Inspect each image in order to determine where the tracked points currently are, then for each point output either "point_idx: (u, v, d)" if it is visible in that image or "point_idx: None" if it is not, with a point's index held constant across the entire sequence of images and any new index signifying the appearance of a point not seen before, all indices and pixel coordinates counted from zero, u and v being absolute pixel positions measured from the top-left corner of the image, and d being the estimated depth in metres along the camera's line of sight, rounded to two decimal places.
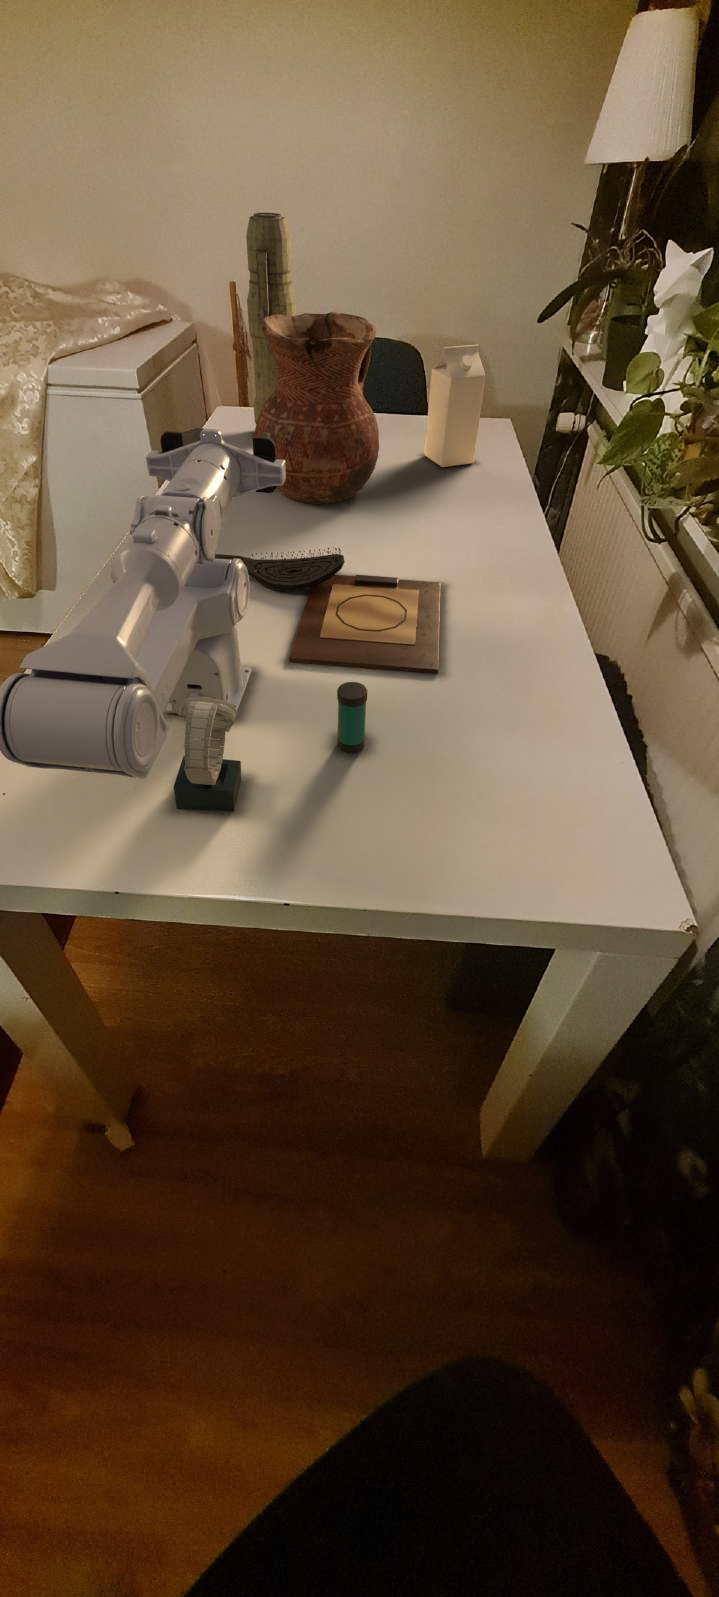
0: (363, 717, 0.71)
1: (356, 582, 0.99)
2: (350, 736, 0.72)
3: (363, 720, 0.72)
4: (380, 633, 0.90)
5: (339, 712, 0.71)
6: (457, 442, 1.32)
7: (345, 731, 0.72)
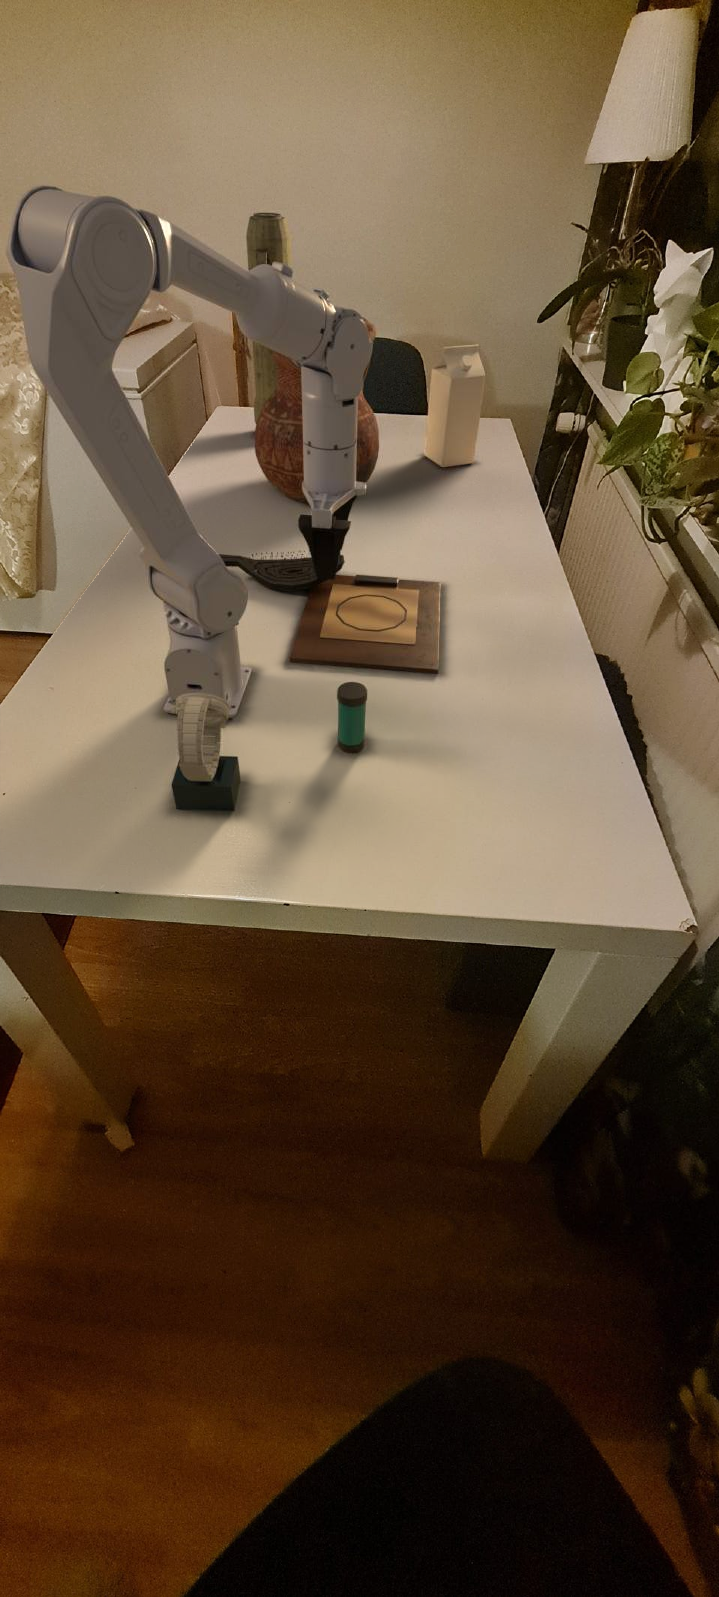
0: (363, 717, 0.71)
1: (356, 582, 0.99)
2: (350, 736, 0.72)
3: (363, 720, 0.72)
4: (380, 633, 0.90)
5: (339, 712, 0.71)
6: (457, 442, 1.32)
7: (345, 731, 0.72)
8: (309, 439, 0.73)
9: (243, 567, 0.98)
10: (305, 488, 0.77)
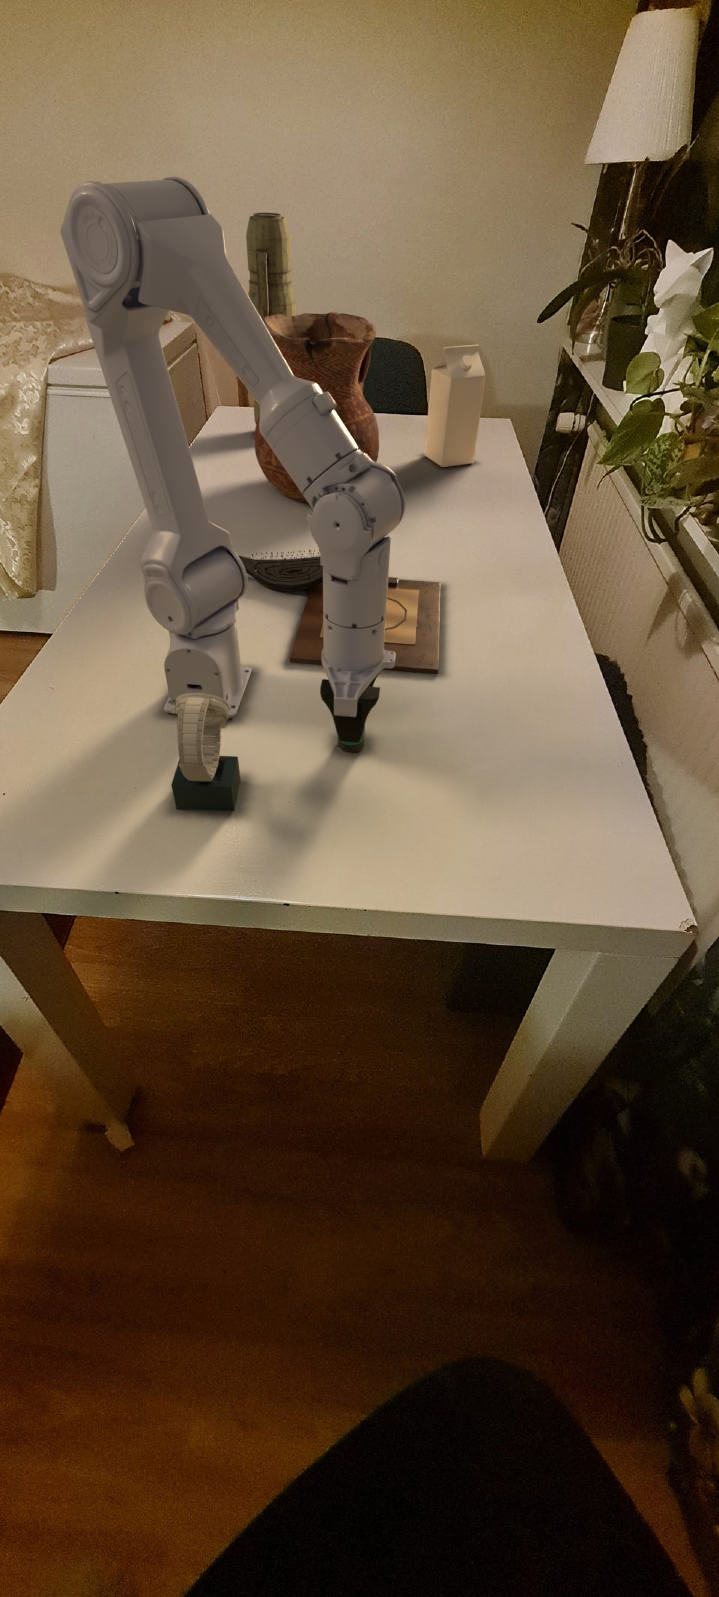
0: None
1: None
2: None
3: None
4: None
5: None
6: (457, 442, 1.32)
7: None
8: None
9: None
10: (325, 662, 0.66)
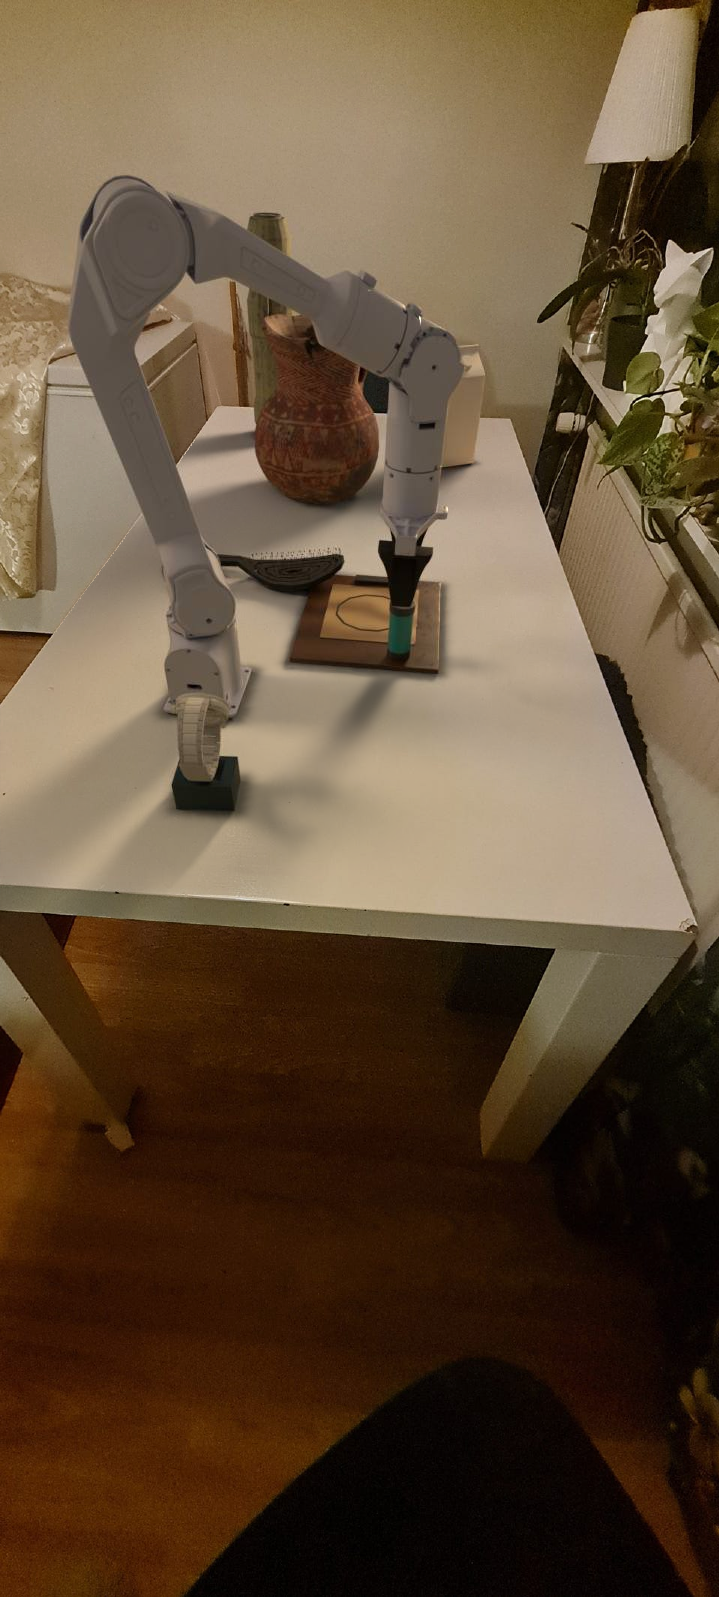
0: (411, 627, 0.83)
1: (356, 582, 0.99)
2: (399, 645, 0.84)
3: (411, 630, 0.83)
4: (380, 633, 0.90)
5: (390, 623, 0.83)
6: (457, 442, 1.32)
7: (395, 640, 0.83)
8: (386, 458, 0.70)
9: (243, 567, 0.98)
10: (385, 512, 0.73)
